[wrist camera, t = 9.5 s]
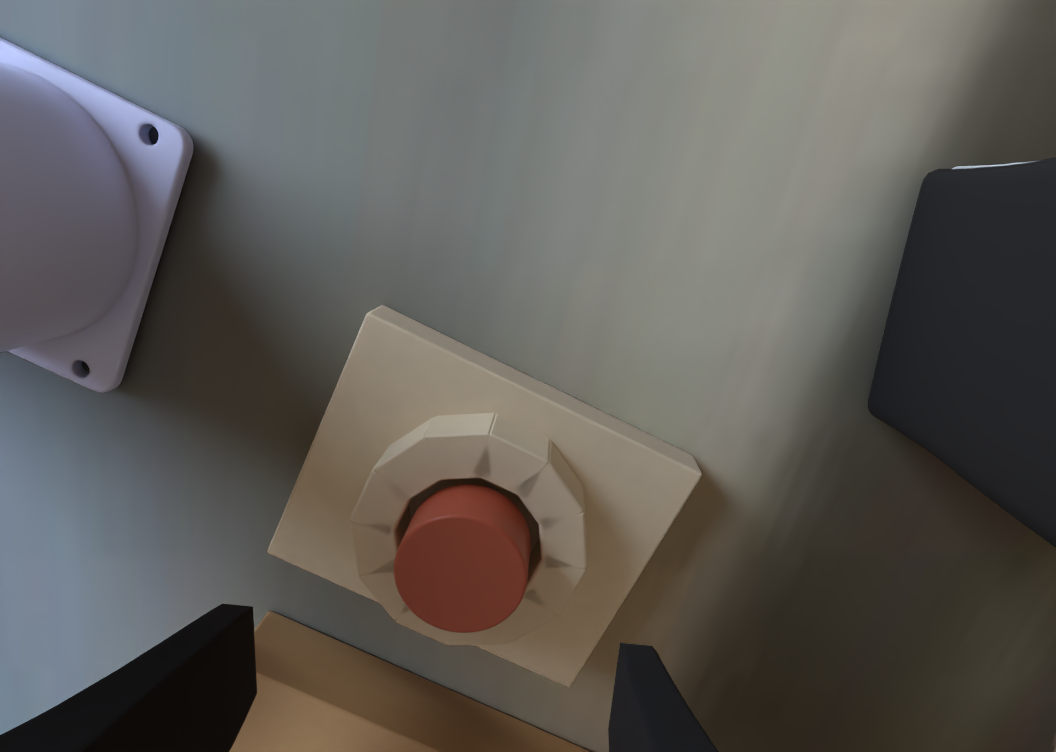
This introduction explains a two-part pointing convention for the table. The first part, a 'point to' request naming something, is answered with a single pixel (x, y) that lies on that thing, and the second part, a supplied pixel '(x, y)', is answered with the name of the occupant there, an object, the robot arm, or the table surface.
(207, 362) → the table surface
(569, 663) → the bell block
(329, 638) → the plate
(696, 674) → the table surface
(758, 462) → the table surface
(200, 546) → the table surface
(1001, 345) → the battery charger
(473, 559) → the bell button
